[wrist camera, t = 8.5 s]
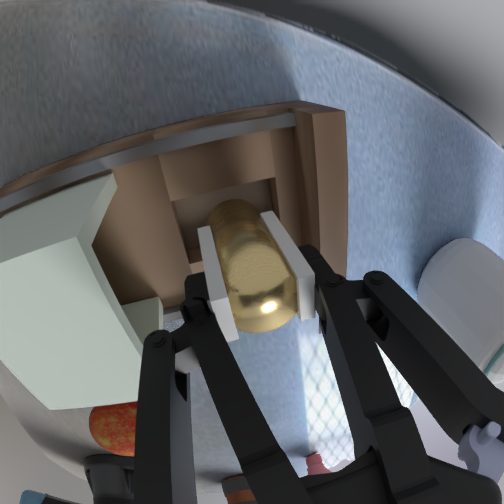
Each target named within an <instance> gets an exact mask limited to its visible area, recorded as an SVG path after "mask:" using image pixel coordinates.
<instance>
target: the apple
mask: <svg viewBox="0 0 504 504" xmlns="http://www.w3.org/2000/svg"><path fill="white" fill-rule="evenodd" d="M136 413H137V401H133V402H126V403H119V404H111V405H103V406H95V407H94V408H93V409H92V411H91V414H90V417H89V428H90V432H91V435H92V437H93V438H94V440H95V441H96V442H97V443H98V444H99V445H100V446H101V447H103V448H104V449H106V450H108V451H110V452H112V453H114V454H118V455H122V456H134V448H135V428H136Z"/></svg>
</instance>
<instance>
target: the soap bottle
mask: <svg viewBox="0 0 504 504" xmlns="http://www.w3.org/2000/svg"><path fill="white" fill-rule="evenodd" d="M417 300H418V304H419V305H420V306H421V307H422V308H423V309H424V310H425V311H426V312H427V313H428V314H429V315H430V316H431V317H432V318H433V319H434V321H435V322H436V323H437V324H438V325H439V326H440V327H441V328H442V329H443V330H444V331H445V332H446V333H447V334H448V335H449V336H450V337H451V338H452V339H453V340H454V341H455V342H456V343H457V345H458V346H459V347H460V348H461V349H462V350H463V351H464V352H465V353H466V354H467V355H468V356H469V358H470V359H471V360H472V361H473V362H474V363H475V364H476V365H477V366H478V368H479V369H480V370H481V371H482V372H483V373H484V374H485V376H486V377H487V378H488V379H489V380H490V381H491V382H492V384H497V383H501V382H504V260H503V259H502V258H500V257H499V256H498V255H497V254H496V253H494V252H493V251H492V250H491V249H489V248H488V247H487V246H485V245H484V244H482V243H480V242H478V241H476V240H474V239H469V238H460V239H455V240H453V241H451V242H449V243H448V244H446V245H445V246H443V247H442V248H440V249H439V250H438V251H437V252H436V253H435V254H434V255H433V256H432V257H431V258H430V260H429V262H428V263H427V265H426V266H425V268H424V270H423V272H422V275H421V278H420V281H419V285H418V288H417Z"/></svg>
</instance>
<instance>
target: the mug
mask: <svg viewBox="0 0 504 504" xmlns="http://www.w3.org/2000/svg"><path fill="white" fill-rule="evenodd" d="M222 488H223V492H224V495H225V497H226V498H227V501H228V504H258V503H257V501H256V499H255V497H254V495H253V493H252V491H251V489H250V487H249V485H248V483H247V480H246V478H245V476H244V474H241V475H235V476H231V477H228V478H226V479H224V480H223V483H222Z"/></svg>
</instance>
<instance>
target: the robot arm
mask: <svg viewBox="0 0 504 504" xmlns="http://www.w3.org/2000/svg"><path fill="white" fill-rule="evenodd" d="M260 216H261V219H262V221H263V223H264V225H265V226H266V228H267V230H268V231H269V233H270V235H271V237H272V239H273V240H274V242H275V244H276V246H277V247H278V249H279V251H280V253H281V254H282V256H283V258H284V260H285V261H286V263H287V265H288V267H289V269H290V270H291V272H292V274H293V276H294V278H295V279H296V285H297V300H298V311H297V315H298V317H299V319H300V321H305V320H308V319H311V318H314V317H315V309H316V311H317V313H318V315H319V334H320V333H321V331H322V334H323V337H324V341H325V344H326V347H327V350H328V354H329V357H330V360H331V364H332V367H333V370H334V374H335V377H336V381H337V384H338V387H339V391H340V394H341V398H342V401H343V405H344V409H345V412H346V416H347V419H348V423H349V427H350V430H351V434H352V438H353V442H354V455H355V461H353V462H352V463H351V464H349V465H348V466H346V467H345V468H343V469H342V470H340V471H338V472H332V473H324V474H315V475H307V476H304V477H301V478H299V477H298V475H297V473H296V472H295V470H294V468H293V466H292V465H291V463H290V461H289V459H288V458H287V456H286V454H285V453H284V451H283V450H282V449H281V448H280V446H279V444H278V443H277V441H276V439H275V437H274V435H273V433H272V431H271V430H270V428H269V426H268V424H267V422H266V420H265V418H264V416H263V414H262V412H261V410H260V408H259V407H258V405H257V403H256V401H255V399H254V397H253V395H252V393H251V391H250V389H249V387H248V385H247V383H246V381H245V379H244V377H243V375H242V373H241V371H240V369H239V366H238V364H237V362H236V360H235V358H234V356H233V354H232V352H231V350H230V348H229V346H228V343H227V342H229V341H233V340H237V339H239V337H238V333H237V329H236V325H235V322H234V318H233V314H232V311H231V307H230V303H229V299H228V295H227V292H226V288H225V284H224V280H223V276H222V272H221V268H220V264H219V261H218V257H217V253H216V249H215V245H214V241H213V236H212V232H211V228H210V225H209V226H205V227H201V228H197V230H198V236H199V242H200V248H201V254H202V259H203V265H204V271H203V272H199V273H195V274H191V275H187V277H186V279H185V281H184V287H185V298H186V299H185V300H184V301H183V302H182V303H181V305H180V312H181V314H182V316H183V319H184V321H185V323H184V324H183V325H182V326H181V327H180V328H178V329H176V330H175V331H173V332H171V333H170V332H169V331H167V330H156V331H153V332H151V333H150V334H148V336H147V337H146V338H145V340H144V344H143V352H142V360H141V369H140V379H139V389H138V400H137V413H136V428H135V448H134V458H132V457H126V456H118V455H94V456H90V457H87V458H86V459H85V460H84V471H85V474H86V477H87V480H88V483H89V485H90V488H91V491H92V493H93V500H94V504H197V496H196V484H195V472H194V459H193V443H192V424H191V400H190V371H192V370H194V369H196V368H198V367H201V370H202V372H203V375H204V378H205V380H206V383H207V386H208V388H209V391H210V393H211V396H212V399H213V401H214V404H215V406H216V409H217V411H218V414H219V416H220V419H221V421H222V423H223V426H224V428H225V431H226V433H227V435H228V438H229V440H230V442H231V445H232V447H233V449H234V451H235V454H236V456H237V458H238V460H239V463H240V466H241V469H242V472H243V474H244V476H245V478H246V480H247V483H248V485H249V487H250V489H251V491H252V493H253V495H254V497H255V499H256V501H257V503H258V504H502V495H501V491H500V488H499V486H498V485H497V483H498V482H499V480H500V478H501V476H502V474H503V472H504V392H502V391H501V390H499V389H498V388H496V387H495V386H494V385H493V384H492V382H491V381H490V380H489V379H488V378H487V377H486V376H485V374H484V373H483V372H482V371H481V370H480V369H479V368H478V366H477V365H476V364H475V363H474V362H473V361H472V360H471V359H470V358H469V356H468V355H467V354H466V353H465V352H464V351H463V350H462V349H461V348H460V347H459V346H458V345H457V343H456V342H455V341H454V340H453V339H452V338H451V337H450V336H449V335H448V334H447V333H446V332H445V331H444V330H443V329H442V328H441V327H440V326H439V325H438V324H437V323H436V322H435V321H434V319H433V318H432V317H431V316H430V315H429V314H428V313H427V312H426V311H425V310H424V309H423V308H422V307H421V306H420V305H419V304H418V303H417V302H416V301H415V300H413V299H412V298H411V297H410V296H409V295H408V294H407V293H406V292H405V291H404V290H403V289H402V288H401V287H400V286H399V285H398V284H397V283H396V282H395V281H394V280H393V279H392V278H391V277H390V276H388V275H387V274H386V273H384V272H381V271H370V272H368V273H366V274H365V276H364V277H363V280H354V281H352V280H346V278H345V277H344V276H342V275H340V274H336V273H335V272H334V271H333V269H332V268H331V267H330V265H329V264H328V263H327V261H326V260H325V259H324V257H323V256H322V255H321V254H320V252H319V251H318V249H317V248H316V247H314V246H312V245H310V244H307V245H303V246H299V247H297V246H296V245H295V243H294V242H293V240H292V239H291V237H290V236H289V234H288V233H287V231H286V230H285V228H284V227H283V225H282V224H281V223H280V221H279V220H278V218H277V217H276V215H275V214H274V212H273V211H268V212H263V213H260ZM376 343H377V344H378V345H379V347H380V348H381V349H382V350H383V352H384V353H385V354H386V355H387V357H388V358H389V359H390V361H391V362H392V363H393V364H394V366H395V367H396V368H397V370H398V371H399V372H400V373H401V375H402V376H403V377H404V379H405V380H406V381H407V382H408V384H409V385H410V386H411V388H412V389H413V390H414V392H415V393H416V394H417V396H418V397H419V398H420V399H421V401H422V402H423V403H424V405H425V406H426V407H427V409H428V410H429V411H430V413H431V414H432V415H433V417H434V418H435V419H436V421H437V422H438V424H439V425H440V426H441V428H442V429H443V430H444V431H445V432H446V434H447V435H448V436H449V437H450V438H451V439H452V440H453V441H454V442H456V443H457V444H458V445H459V452H458V457H459V459H460V460H462V461H465V463H466V465H467V468H468V470H466V469H463V468H460V467H457V466H454V465H452V464H449V463H446V462H444V461H441V460H438V459H436V458H433V457H431V456H428V455H427V454H426V451H425V448H424V445H423V442H422V440H421V437H420V434H419V432H418V429H417V426H416V424H415V421H414V418H413V416H412V414H411V412H410V410H409V409H408V408H407V407H403V406H402V405H401V403H400V401H399V398H398V395H397V393H396V390H395V388H394V385H393V383H392V380H391V378H390V376H389V373H388V371H387V368H386V366H385V363H384V361H383V359H382V356H381V354H380V352H379V349H378V347H377V345H376ZM20 504H79V503H75V502H72V501H68V500H64V499H60V498H57V497H54V496H50V495H48V494H43V493H39V492H36V491H32V490H25V491H24V492H23V493H22V495H21V499H20Z"/></svg>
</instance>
